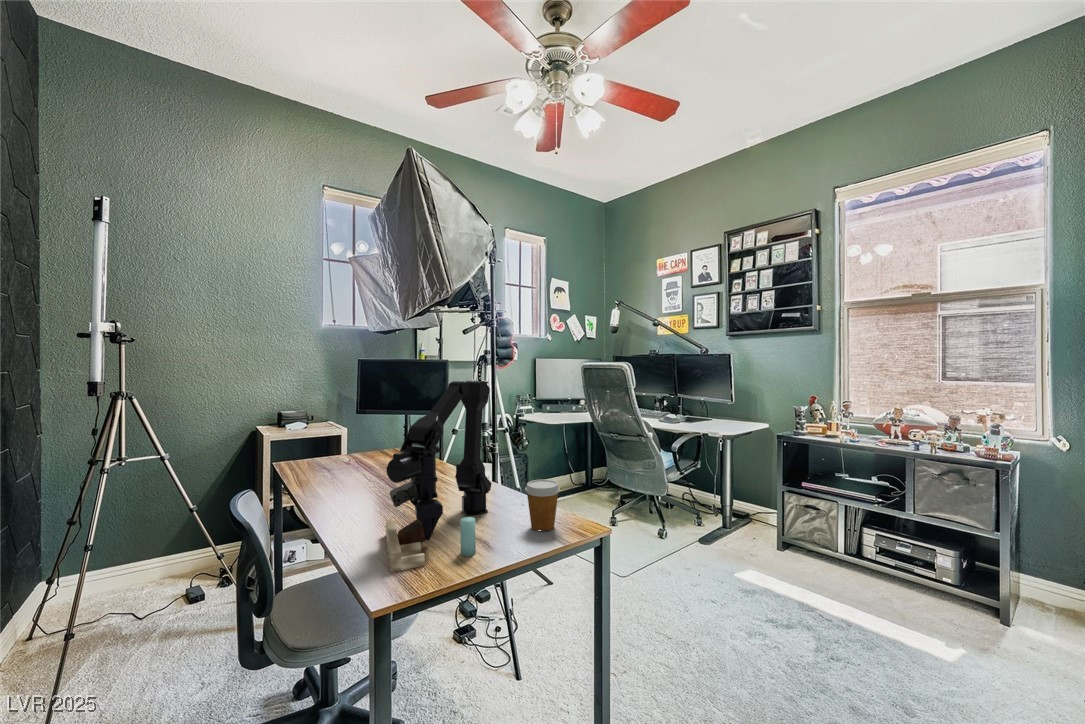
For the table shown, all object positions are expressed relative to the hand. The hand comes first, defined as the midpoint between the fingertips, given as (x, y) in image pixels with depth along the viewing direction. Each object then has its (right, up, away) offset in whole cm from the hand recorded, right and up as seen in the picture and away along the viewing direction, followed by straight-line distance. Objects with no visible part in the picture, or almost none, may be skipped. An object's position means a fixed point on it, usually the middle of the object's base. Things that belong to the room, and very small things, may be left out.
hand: (425, 532), depth 113 cm
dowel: (+13, -2, -8) cm, 15 cm away
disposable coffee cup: (+30, -2, +7) cm, 31 cm away
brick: (-2, -2, -2) cm, 3 cm away
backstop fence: (-4, -2, -6) cm, 7 cm away
